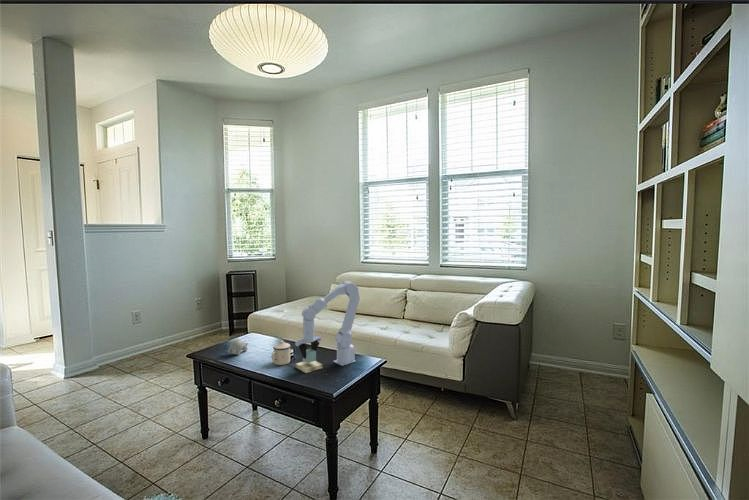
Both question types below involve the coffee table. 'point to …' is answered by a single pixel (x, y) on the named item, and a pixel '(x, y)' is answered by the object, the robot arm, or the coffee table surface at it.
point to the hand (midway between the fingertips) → (308, 356)
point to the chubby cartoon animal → (237, 347)
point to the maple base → (308, 366)
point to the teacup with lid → (281, 353)
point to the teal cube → (310, 356)
